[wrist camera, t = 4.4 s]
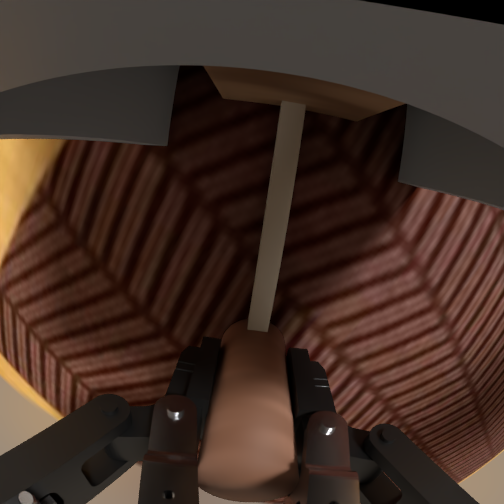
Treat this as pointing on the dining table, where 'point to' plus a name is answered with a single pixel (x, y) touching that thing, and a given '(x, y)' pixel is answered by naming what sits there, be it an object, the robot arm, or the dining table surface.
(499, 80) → the block
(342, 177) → the dining table surface
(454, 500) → the robot arm
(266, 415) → the brown square-headed paddle
